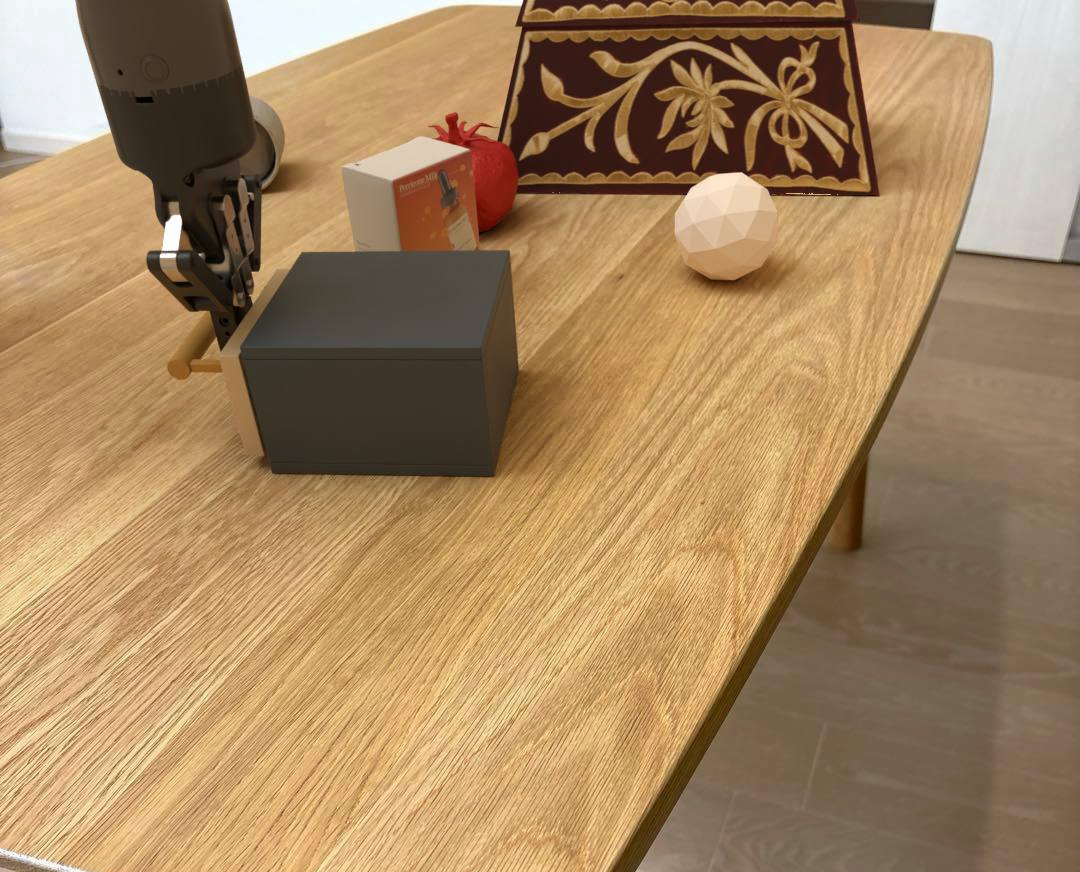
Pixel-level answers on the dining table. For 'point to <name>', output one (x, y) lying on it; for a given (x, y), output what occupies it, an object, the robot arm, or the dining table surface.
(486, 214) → the pomegranate
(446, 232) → the small box
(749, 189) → the geometric ball
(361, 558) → the dining table surface
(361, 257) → the cabinet
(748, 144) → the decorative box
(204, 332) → the drawer
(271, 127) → the ceramic mug
